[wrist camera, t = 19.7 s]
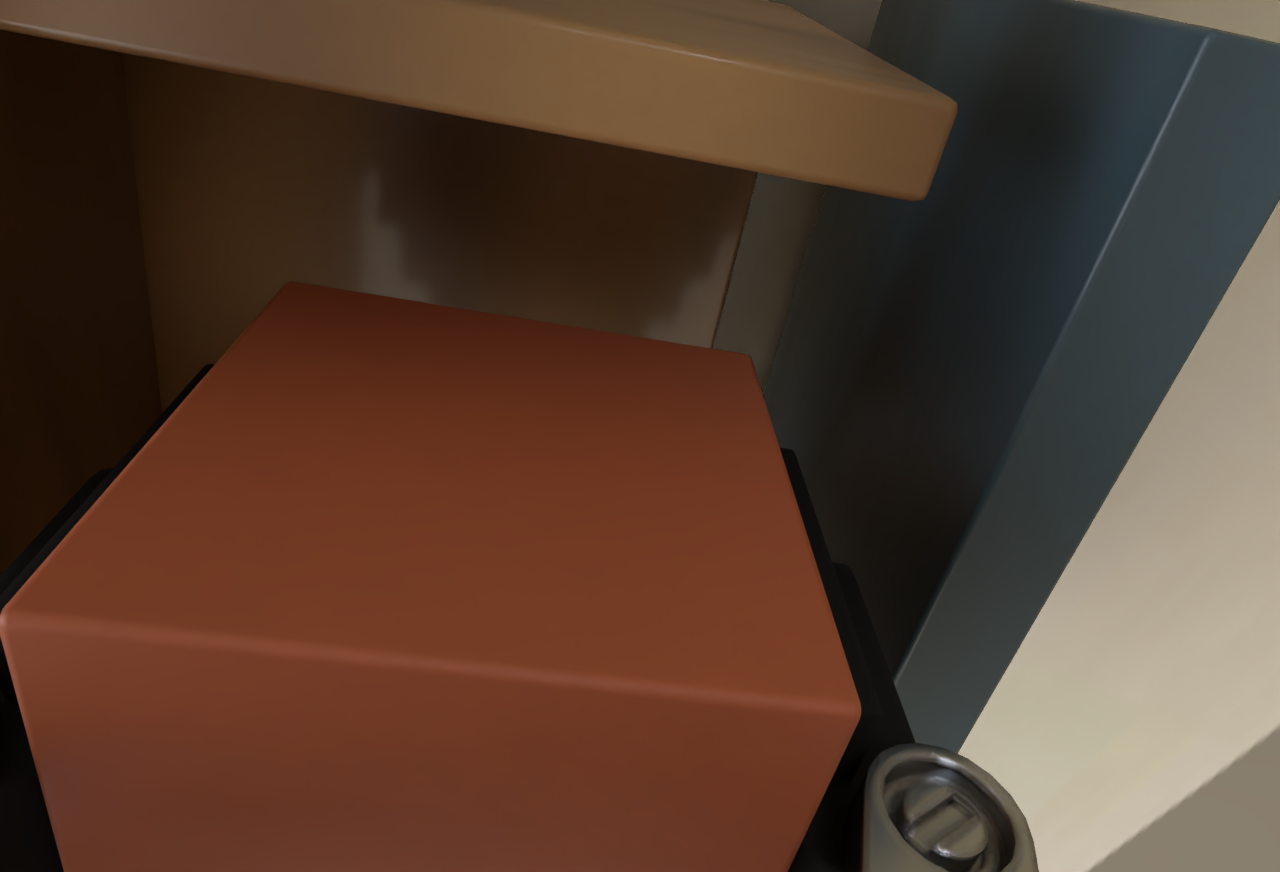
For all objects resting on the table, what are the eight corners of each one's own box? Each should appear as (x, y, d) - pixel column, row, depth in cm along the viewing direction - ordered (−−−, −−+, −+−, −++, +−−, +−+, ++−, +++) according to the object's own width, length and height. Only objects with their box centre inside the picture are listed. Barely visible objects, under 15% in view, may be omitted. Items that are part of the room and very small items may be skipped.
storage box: (1042, -3, 13) (1509, 94, 6) (804, 609, 19) (908, 981, 13) (70, -221, 11) (-729, -409, 5) (165, 530, 18) (-108, 911, 11)
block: (752, 351, 9) (869, 711, 5) (662, 668, 12) (691, 1085, 8) (285, 276, 9) (-13, 616, 5) (294, 628, 11) (107, 1055, 7)
